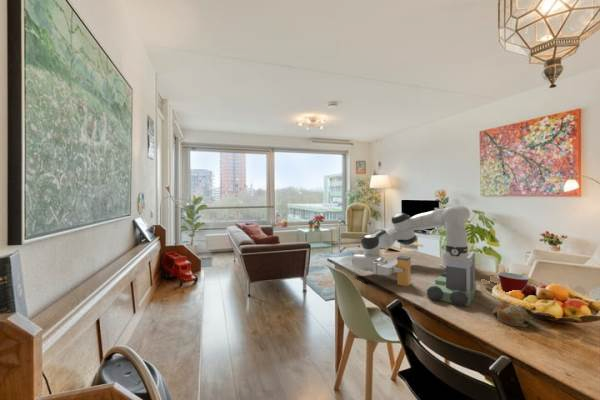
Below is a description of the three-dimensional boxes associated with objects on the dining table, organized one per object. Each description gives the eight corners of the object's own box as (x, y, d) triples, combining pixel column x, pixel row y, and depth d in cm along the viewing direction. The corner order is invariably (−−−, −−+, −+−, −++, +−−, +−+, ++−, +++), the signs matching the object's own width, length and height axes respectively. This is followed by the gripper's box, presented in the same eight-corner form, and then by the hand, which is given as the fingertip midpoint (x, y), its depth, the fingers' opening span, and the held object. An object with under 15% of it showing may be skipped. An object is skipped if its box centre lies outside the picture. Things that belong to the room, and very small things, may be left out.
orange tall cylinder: (400, 281, 142) (400, 255, 141) (410, 283, 138) (410, 256, 138) (397, 284, 138) (397, 257, 137) (407, 286, 134) (407, 258, 134)
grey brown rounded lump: (514, 338, 92) (526, 321, 89) (485, 315, 100) (495, 299, 97) (528, 331, 97) (540, 315, 94) (499, 309, 105) (509, 294, 102)
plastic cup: (533, 303, 112) (533, 275, 112) (524, 310, 106) (524, 280, 106) (503, 295, 121) (502, 269, 121) (492, 301, 115) (492, 273, 115)
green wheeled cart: (440, 282, 140) (440, 245, 140) (476, 288, 130) (476, 249, 130) (425, 298, 118) (425, 255, 118) (468, 308, 108) (468, 260, 108)
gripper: (387, 266, 154) (412, 270, 145) (372, 274, 138) (399, 280, 130) (386, 255, 154) (411, 259, 145) (371, 262, 138) (398, 267, 129)
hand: (405, 268), depth 137 cm, fingers open, 6 cm apart
